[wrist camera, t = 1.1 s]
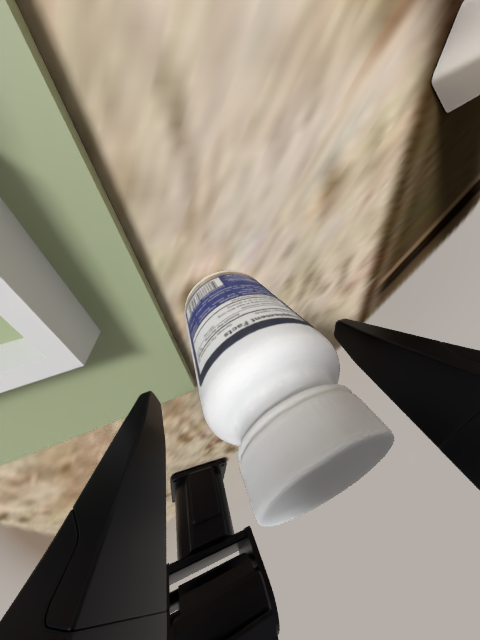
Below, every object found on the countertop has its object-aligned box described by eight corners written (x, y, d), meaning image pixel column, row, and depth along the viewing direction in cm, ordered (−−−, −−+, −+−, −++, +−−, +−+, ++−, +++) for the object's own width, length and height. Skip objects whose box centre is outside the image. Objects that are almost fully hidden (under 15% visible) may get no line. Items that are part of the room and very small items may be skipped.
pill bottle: (259, 334, 15) (368, 484, 7) (189, 347, 13) (226, 561, 5) (266, 264, 12) (466, 385, 4) (177, 271, 10) (221, 490, 2)
